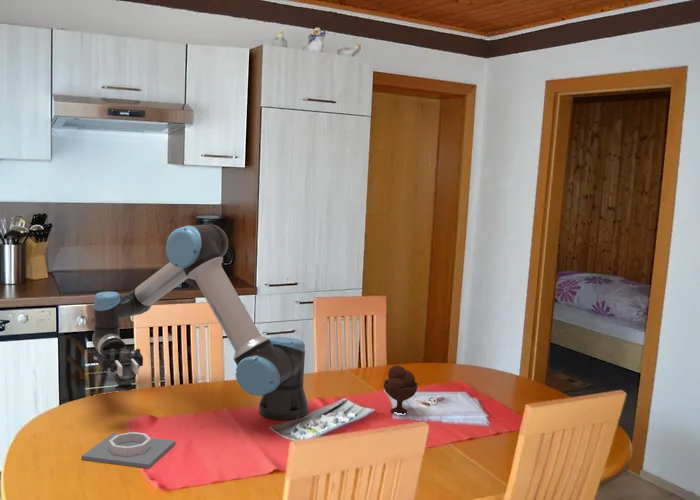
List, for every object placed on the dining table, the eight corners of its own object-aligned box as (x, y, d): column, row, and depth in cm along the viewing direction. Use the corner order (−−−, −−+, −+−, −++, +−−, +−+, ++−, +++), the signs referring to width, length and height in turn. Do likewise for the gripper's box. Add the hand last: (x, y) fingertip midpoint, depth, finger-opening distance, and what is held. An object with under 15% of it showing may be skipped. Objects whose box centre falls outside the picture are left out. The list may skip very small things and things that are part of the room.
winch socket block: (175, 444, 176) (175, 432, 176) (148, 468, 162) (148, 455, 161) (113, 436, 179) (113, 425, 179) (81, 459, 165) (81, 447, 164)
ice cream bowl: (393, 420, 201) (396, 373, 199) (375, 408, 211) (378, 362, 209) (423, 416, 206) (426, 369, 204) (404, 404, 215) (406, 359, 214)
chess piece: (128, 392, 183) (129, 349, 181) (109, 389, 184) (109, 347, 182) (139, 385, 188) (140, 344, 187) (121, 383, 189) (121, 342, 188)
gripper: (140, 358, 205) (159, 380, 185) (83, 364, 197) (97, 387, 177) (140, 334, 204) (159, 354, 184) (83, 339, 196) (97, 360, 176)
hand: (129, 370), depth 181 cm, fingers closed on chess piece, 4 cm apart
